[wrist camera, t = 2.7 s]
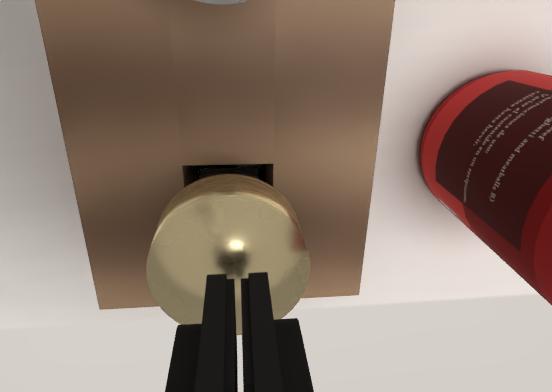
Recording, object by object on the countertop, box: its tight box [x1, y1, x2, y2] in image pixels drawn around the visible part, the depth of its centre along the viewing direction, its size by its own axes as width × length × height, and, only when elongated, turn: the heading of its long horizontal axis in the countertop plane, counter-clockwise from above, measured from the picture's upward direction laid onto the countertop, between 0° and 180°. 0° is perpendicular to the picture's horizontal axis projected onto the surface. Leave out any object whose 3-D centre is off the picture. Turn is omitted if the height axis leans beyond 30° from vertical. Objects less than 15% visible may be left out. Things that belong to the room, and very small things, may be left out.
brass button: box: [146, 167, 310, 335], centre depth 15 cm, size 5×5×6 cm
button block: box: [35, 0, 395, 309], centre depth 17 cm, size 20×12×4 cm, turn 179°
